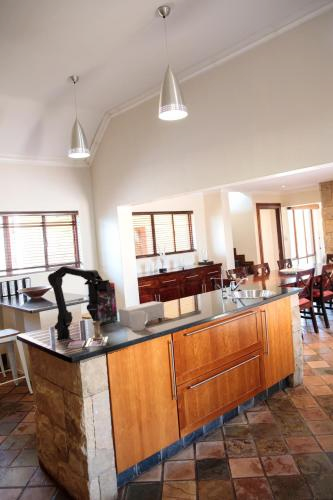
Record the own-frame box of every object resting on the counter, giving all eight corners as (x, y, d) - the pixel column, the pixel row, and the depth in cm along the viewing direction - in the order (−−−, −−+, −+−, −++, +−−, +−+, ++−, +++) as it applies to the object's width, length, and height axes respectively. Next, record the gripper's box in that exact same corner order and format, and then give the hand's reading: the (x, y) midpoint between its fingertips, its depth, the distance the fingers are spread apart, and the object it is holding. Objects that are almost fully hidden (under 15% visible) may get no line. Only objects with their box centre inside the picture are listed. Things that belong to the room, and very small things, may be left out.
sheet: (84, 347, 201) (84, 346, 201) (89, 338, 219) (89, 337, 219) (105, 345, 202) (105, 344, 202) (108, 336, 220) (108, 336, 220)
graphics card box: (98, 326, 249) (95, 285, 248) (92, 325, 254) (89, 285, 253) (118, 321, 262) (115, 282, 261) (111, 320, 266) (109, 282, 266)
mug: (136, 332, 225) (135, 314, 225) (128, 330, 232) (127, 312, 232) (152, 328, 233) (151, 310, 233) (143, 326, 240) (142, 309, 240)
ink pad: (68, 348, 200) (67, 345, 200) (71, 343, 209) (70, 341, 209) (83, 347, 201) (82, 344, 201) (85, 342, 210) (85, 340, 210)
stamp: (92, 340, 212) (91, 322, 212) (93, 338, 217) (92, 321, 217) (101, 339, 213) (100, 322, 212) (102, 337, 218) (101, 320, 217)
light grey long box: (154, 316, 273) (153, 301, 272) (164, 317, 265) (163, 302, 265) (119, 325, 250) (118, 309, 249) (130, 327, 242) (128, 310, 242)
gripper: (106, 293, 207) (107, 321, 207) (108, 289, 225) (110, 314, 226) (85, 294, 206) (87, 322, 206) (90, 290, 225) (91, 315, 225)
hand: (95, 318), depth 216 cm, fingers open, 9 cm apart
